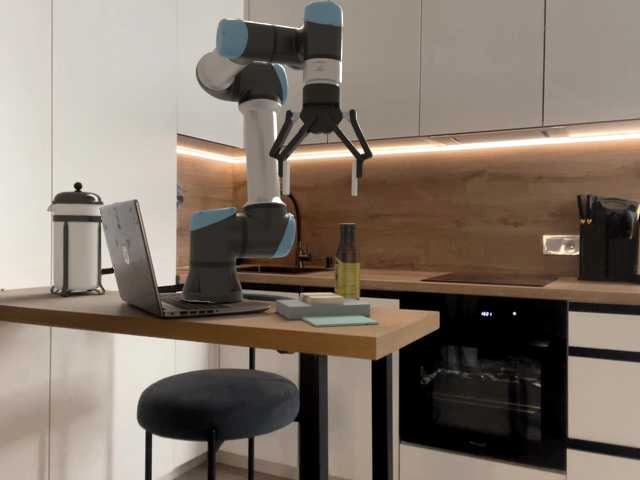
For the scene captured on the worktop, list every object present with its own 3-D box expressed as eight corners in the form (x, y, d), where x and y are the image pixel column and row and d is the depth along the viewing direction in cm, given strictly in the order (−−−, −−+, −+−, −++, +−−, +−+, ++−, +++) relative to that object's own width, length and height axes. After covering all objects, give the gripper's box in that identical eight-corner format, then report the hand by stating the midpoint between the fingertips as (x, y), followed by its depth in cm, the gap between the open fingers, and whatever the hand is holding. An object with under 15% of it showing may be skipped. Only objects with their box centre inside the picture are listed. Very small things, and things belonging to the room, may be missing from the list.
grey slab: (276, 311, 130) (276, 300, 130) (351, 308, 136) (351, 297, 136) (289, 319, 120) (289, 306, 120) (370, 315, 125) (370, 304, 125)
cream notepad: (300, 299, 131) (300, 293, 131) (329, 298, 134) (329, 292, 134) (312, 305, 123) (312, 297, 123) (343, 304, 125) (343, 297, 125)
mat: (300, 318, 120) (300, 316, 120) (359, 316, 125) (359, 314, 125) (315, 326, 111) (315, 324, 111) (378, 324, 115) (378, 322, 115)
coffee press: (91, 298, 148) (91, 179, 148) (34, 296, 151) (34, 179, 151) (125, 290, 166) (126, 184, 165) (74, 288, 168) (74, 184, 168)
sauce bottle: (338, 301, 148) (339, 223, 148) (362, 303, 146) (363, 223, 146) (331, 304, 142) (332, 223, 141) (356, 306, 140) (357, 223, 139)
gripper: (254, 82, 112) (252, 193, 113) (385, 79, 108) (382, 195, 109) (265, 90, 120) (263, 194, 120) (387, 88, 115) (384, 196, 116)
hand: (319, 195), depth 115 cm, fingers open, 13 cm apart
